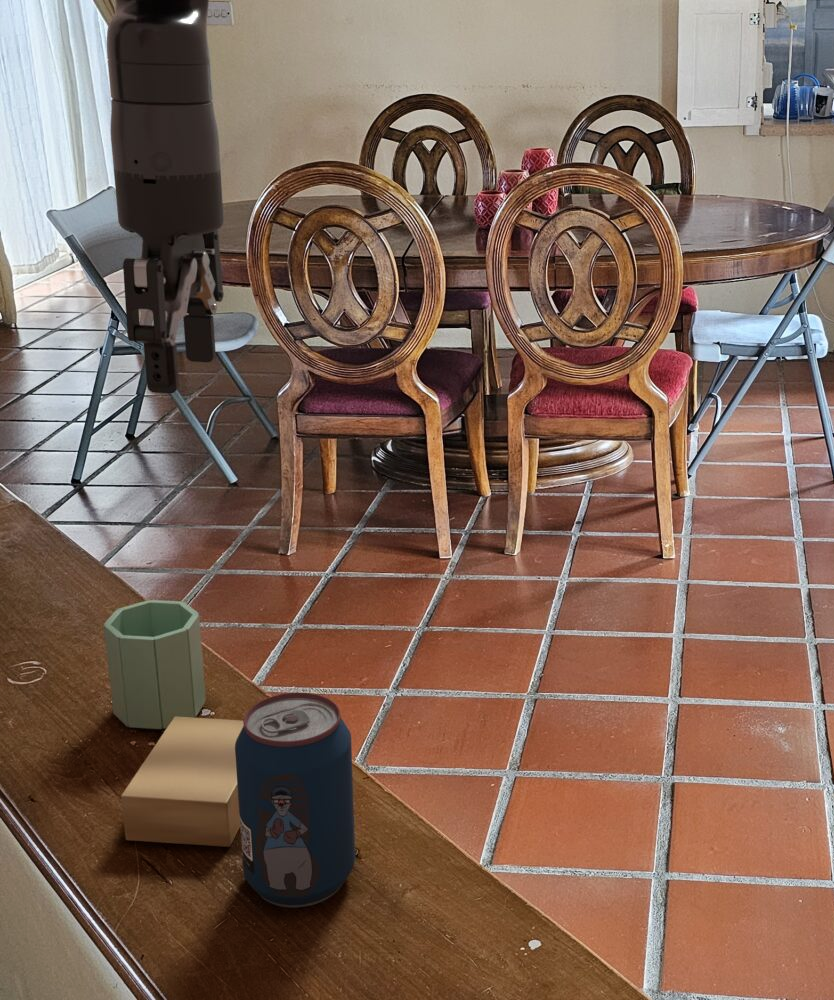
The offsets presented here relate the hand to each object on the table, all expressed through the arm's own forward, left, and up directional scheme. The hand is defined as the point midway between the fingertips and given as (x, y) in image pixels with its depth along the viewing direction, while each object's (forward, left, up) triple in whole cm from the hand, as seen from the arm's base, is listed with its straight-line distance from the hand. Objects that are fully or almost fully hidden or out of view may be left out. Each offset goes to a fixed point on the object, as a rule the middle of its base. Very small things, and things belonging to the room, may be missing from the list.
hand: (183, 375), depth 101 cm
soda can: (+32, -9, -24) cm, 41 cm away
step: (+20, -10, -24) cm, 33 cm away
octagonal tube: (+10, -10, -20) cm, 24 cm away
